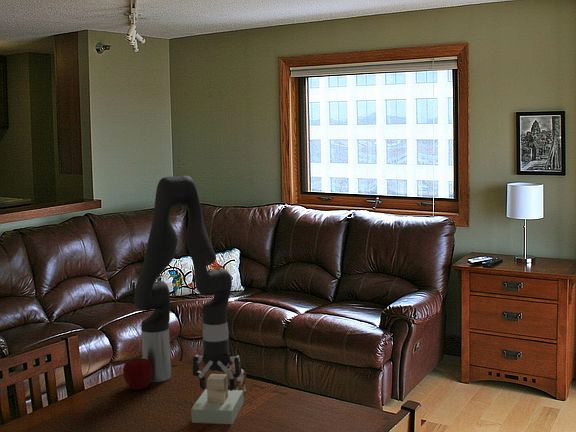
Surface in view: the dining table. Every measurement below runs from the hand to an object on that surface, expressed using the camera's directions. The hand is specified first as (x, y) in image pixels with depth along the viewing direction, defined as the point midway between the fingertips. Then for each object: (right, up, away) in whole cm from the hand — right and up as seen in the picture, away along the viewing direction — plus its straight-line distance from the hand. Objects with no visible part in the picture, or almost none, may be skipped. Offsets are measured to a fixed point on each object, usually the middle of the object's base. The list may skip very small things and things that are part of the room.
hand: (217, 389), depth 219 cm
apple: (-28, -5, +22) cm, 36 cm away
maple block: (0, -3, 0) cm, 3 cm away
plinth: (0, -7, +1) cm, 7 cm away
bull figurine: (+5, -5, +19) cm, 20 cm away
